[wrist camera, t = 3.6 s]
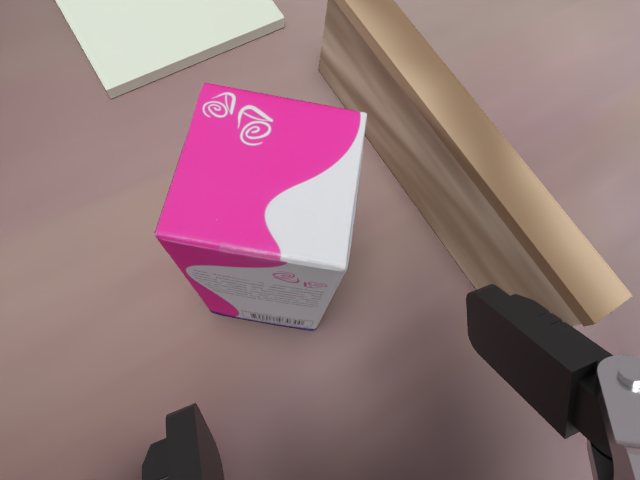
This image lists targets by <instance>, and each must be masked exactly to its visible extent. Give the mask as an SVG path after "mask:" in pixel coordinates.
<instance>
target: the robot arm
mask: <svg viewBox="0 0 640 480" xmlns="http://www.w3.org/2000/svg"><path fill="white" fill-rule="evenodd" d="M466 304H467V325H468V336H469V339H470V342H471V344H472V346H473V348H474V349H475V350H476V352H477V353H478V354H479V355H480V356H481V357H482V358H483V359H484V360H485V361H486V362H487V363H488V364H489V365H490V366H491V367H492V368H493V369H494V370H495V371H496V372H497V373H498V374H499V375H500V376H501V377H502V378H503V379H504V380H505V381H506V382H507V383H508V384H509V385H510V386H512V387H513V388H514V389H515V390H516V391H517V392H518V393H519V394H520V395H521V396H522V397H523V398H524V399H525V400H526V401H527V402H528V403H529V404H530V405H531V406H532V407H533V408H534V409H535V410H536V411H537V412H538V413H539V414H540V415H541V416H542V417H543V418H544V419H545V420H546V421H547V422H548V423H549V424H550V425H551V426H552V427H553V428H554V429H555V430H556V431H557V432H558V433H559V434H560V435H561V436H562V437H563V438H564V439H566V438H568V437H570V436H572V435H574V434H576V433H578V432H581V433H582V434H583V435H584V436H585V437H586V438H587V451H588V455H589V460H590V465H591V470H592V475H593V480H640V358H638V357H634V356H628V355H615V356H613V355H612V354H610V353H609V352H607V351H606V350H604V349H603V348H601V347H600V346H599V345H597V344H596V343H594V342H593V341H591V340H590V339H589V338H587V337H586V336H584V335H583V334H582V333H580V332H579V331H577V330H576V329H574V328H573V327H572V326H570V325H569V324H567V323H566V322H562V319H560V318H559V317H557V316H556V315H554V314H553V313H550V311H549V310H547V309H546V308H545V307H543V306H542V305H540V304H539V303H537V302H536V301H535V300H532V299H529V298H526V297H523V296H521V295H518V294H513V295H511V296H510V295H509V294H507V293H506V292H505V291H503V290H502V289H500V288H499V287H498V286H496V285H494V284H490V285H487V286H485V287H482V288H480V289H477V290H475V291H473V292H470V293H468V294H467V297H466ZM142 480H224V475H223V469H222V463H221V459H220V455H219V452H218V449H217V446H216V443H215V441H214V438H213V436H212V434H211V432H210V430H209V428H208V426H207V424H206V422H205V420H204V418H203V416H202V414H201V412H200V409H199V408H198V406H197V404H196V403H194V404H192V405H189V406H187V407H184V408H182V409H180V410H177V411H175V412H172V413H170V414H167V415H166V438H165V439H163V440H160V441H158V442H156V443H153V444H151V445H150V448H149V450H148V453H147V455H146V458H145V460H144V462H143V465H142Z"/></svg>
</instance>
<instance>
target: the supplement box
mask: <svg viewBox="0 0 640 480" xmlns="http://www.w3.org/2000/svg"><path fill="white" fill-rule="evenodd" d="M366 121H367V114H366V113H365V112H358V111H354V110H349V109H343V108H337V107H332V106H327V105H322V104H316V103H311V102H305V101H300V100H295V99H289V98H284V97H278V96H273V95H268V94H263V93H257V92H252V91H247V90H241V89H236V88H231V87H226V86H220V85H215V84H209V83H203V85H202V88H201V91H200V94H199V97H198V100H197V104H196V107H195V110H194V114H193V117H192V121H191V124H190V128H189V131H188V134H187V137H186V140H185V143H184V146H183V149H182V152H181V155H180V158H179V161H178V164H177V167H176V170H175V173H174V176H173V179H172V182H171V185H170V188H169V191H168V194H167V197H166V200H165V203H164V206H163V209H162V212H161V215H160V218H159V221H158V224H157V228H156V230H155V232H154V233H155V236H156V238H157V239H158V240H159V242H160V243H161V244H162V246H163V247H164V249H165V250H166V251H167V252H168V254H169V255H170V256H171V258H172V259H173V260H174V262H175V263H176V264H177V266H178V267H179V268H180V270H181V271H182V273H183V274H184V275H185V277H186V278H187V279H188V281H189V282H190V283H191V285H192V286H193V288H194V289H195V290H196V292H197V293H198V294H199V296H200V297H201V298H202V300H203V301H204V303H205V304H206V305H207V307H208V308H209V309H210V311H211V312H213V313H216V314H219V315H224V316H229V317H234V318H240V319H245V320H251V321H256V322H262V323H268V324H273V325H279V326H285V327H291V328H298V329H304V330H311V331H315V329H316V328H317V326H318V324H319V322H320V321H321V319H322V317H323V315H324V313H325V311H326V309H327V307H328V305H329V303H330V301H331V299H332V297H333V295H334V293H335V291H336V290H337V288H338V286H339V284H340V282H341V280H342V278H343V276H344V275H345V273H346V271H347V268H348V263H349V256H350V249H351V242H352V233H353V226H354V218H355V211H356V203H357V195H358V187H359V178H360V169H361V161H362V153H363V144H364V136H365V127H366Z"/></svg>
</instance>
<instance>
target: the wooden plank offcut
mask: <svg viewBox="0 0 640 480" xmlns="http://www.w3.org/2000/svg"><path fill="white" fill-rule="evenodd" d="M319 71H320V73H321V74H322V76H323V77H324V78H325V80H326V81H327V83H328V84H329V85H330V87H331V88H332V90H333V91H334V92H335V94H336V95H337V96H338V98H339V99H340V101H341V102H342V103H343V105H344V106H345V108H346V109H349V110H354V111H358V112H365V113H366V114H367V121H366V127H365V135H366V137H367V138H368V140H369V141H370V142H371V144H372V145H373V147H374V148H375V149H376V151H377V152H378V154H379V155H380V156H381V158H382V159H383V161H384V162H385V163H386V165H387V166H388V167H389V169H390V170H391V172H392V173H393V174H394V176H395V177H396V179H397V180H398V181H399V183H400V184H401V186H402V187H403V188H404V190H405V191H406V193H407V194H408V195H409V197H410V198H411V199H412V201H413V202H414V204H415V205H416V206H417V208H418V209H419V211H420V212H421V213H422V215H423V216H424V218H425V219H426V220H427V222H428V223H429V225H430V226H431V227H432V229H433V230H434V231H435V233H436V234H437V236H438V237H439V238H440V240H441V241H442V243H443V244H444V245H445V247H446V248H447V250H448V251H449V252H450V254H451V255H452V257H453V258H454V259H455V261H456V262H457V263H458V265H459V266H460V268H461V269H462V270H463V272H464V273H465V275H466V276H467V277H468V279H469V280H470V282H471V283H472V284H473V286H474V287H475V289H476V290H477V289H480V288H482V287H485V286H487V285H490V284H494V285H496V286H498V287H499V288H500V289H502V290H503V291H505V292H506V293H507V294H509V295H510V296H511V295H513V294H518V295H521V296H523V297H526V298H529V299H532V300H535V301H536V302H537V303H539V304H540V305H542V306H543V307H545V308H546V309H547V310H549V311H550V313H553V314H554V315H556V316H557V317H559V318H560V319H562V322H566V323H567V324H569V325H570V326H575V325H580V324H582V325H583V326H588V325H593V324H596V323H597V322H598V321H600V320H601V319H602V318H604V317H605V316H606V315H608V314H609V313H610V312H612V311H613V310H614V309H616V308H617V307H618V306H620V305H621V304H622V303H624V302H625V301H626V300H628V299H629V298H630V297H632V294H631V293H630V292H629V291H628V289H627V288H626V287H625V286H624V284H623V283H622V282H621V281H620V280H619V278H618V277H617V276H616V275H615V273H614V272H613V271H612V270H611V268H610V267H609V266H608V265H607V263H606V262H605V261H604V260H603V258H602V257H601V256H600V255H599V254H598V252H597V251H596V250H595V249H594V247H593V246H592V245H591V244H590V242H589V241H588V240H587V239H586V237H585V236H584V235H583V234H582V233H581V231H580V230H579V229H578V228H577V226H576V225H575V224H574V223H573V221H572V220H571V219H570V218H569V216H568V215H567V214H566V213H565V212H564V210H563V209H562V208H561V207H560V205H559V204H558V203H557V202H556V200H555V199H554V198H553V197H552V195H551V194H550V193H549V192H548V191H547V189H546V188H545V187H544V186H543V184H542V183H541V182H540V181H539V179H538V178H537V177H536V176H535V174H534V173H533V172H532V171H531V169H530V168H529V167H528V166H527V165H526V163H525V162H524V161H523V160H522V158H521V157H520V156H519V155H518V153H517V152H516V151H515V150H514V148H513V147H512V146H511V145H510V144H509V142H508V141H507V140H506V139H505V137H504V136H503V135H502V134H501V132H500V131H499V130H498V129H497V127H496V126H495V125H494V124H493V123H492V121H491V120H490V119H489V118H488V116H487V115H486V114H485V113H484V111H483V110H482V109H481V108H480V106H479V105H478V104H477V103H476V102H475V100H474V99H473V98H472V97H471V95H470V94H469V93H468V92H467V90H466V89H465V88H464V87H463V85H462V84H461V83H460V82H459V80H458V79H457V78H456V77H455V76H454V74H453V73H452V72H451V71H450V69H449V68H448V67H447V66H446V64H445V63H444V62H443V61H442V59H441V58H440V57H439V56H438V55H437V53H436V52H435V51H434V50H433V48H432V47H431V46H430V45H429V43H428V42H427V41H426V40H425V38H424V37H423V36H422V35H421V34H420V32H419V31H418V30H417V29H416V27H415V26H414V25H413V24H412V22H411V21H410V20H409V19H408V17H407V16H406V15H405V14H404V13H403V11H402V10H401V9H400V8H399V6H398V5H397V4H396V3H395V1H394V0H328V3H327V11H326V18H325V26H324V33H323V41H322V48H321V55H320V63H319Z"/></svg>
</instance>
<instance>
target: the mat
mask: <svg viewBox="0 0 640 480" xmlns="http://www.w3.org/2000/svg"><path fill="white" fill-rule="evenodd" d="M55 1H56V2H57V4H58V6H59V8H60V9H61V11H62V13H63V15H64V16H65V18H66V20H67V22H68V24H69V25H70V27H71V29H72V31H73V32H74V34H75V36H76V38H77V39H78V41H79V43H80V45H81V47H82V48H83V50H84V52H85V54H86V55H87V57H88V59H89V61H90V63H91V64H92V66H93V68H94V70H95V71H96V73H97V75H98V77H99V78H100V80H101V82H102V84H103V86H104V87H105V89H106V91H107V93H108V94H109V96H110V98H111V99H112V98H115V97H117V96H119V95H122V94H124V93H127V92H129V91H131V90H134V89H136V88H139V87H141V86H144V85H146V84H148V83H151V82H153V81H156V80H158V79H160V78H163V77H165V76H168V75H170V74H172V73H175V72H177V71H180V70H182V69H184V68H187V67H189V66H192V65H194V64H197V63H199V62H201V61H204V60H206V59H209V58H211V57H213V56H216V55H218V54H221V53H223V52H225V51H228V50H230V49H233V48H235V47H237V46H240V45H242V44H245V43H247V42H250V41H252V40H254V39H257V38H259V37H262V36H264V35H266V34H269V33H271V32H274V31H276V30H278V29H281V28H283V27H284V16H283V15H282V13H281V12H280V11H279V9H278V8H277V6H276V5H275V4H274V2H273V1H272V0H55Z"/></svg>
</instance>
